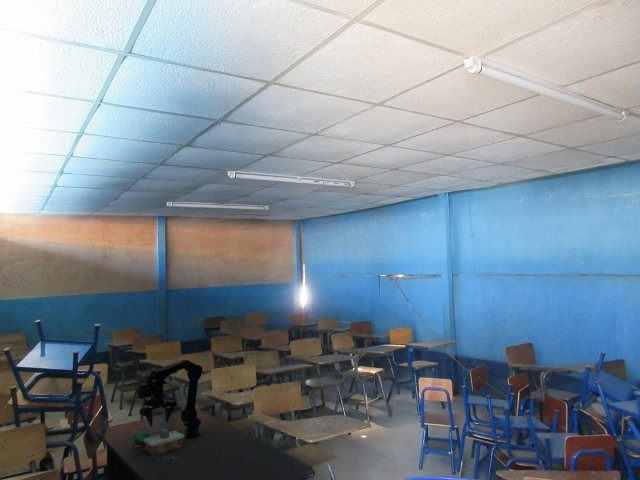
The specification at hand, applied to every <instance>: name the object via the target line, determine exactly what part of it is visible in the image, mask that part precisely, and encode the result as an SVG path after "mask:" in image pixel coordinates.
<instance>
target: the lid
mask: <svg viewBox="0 0 640 480" xmlns="http://www.w3.org/2000/svg"><path fill="white" fill-rule="evenodd" d="M158 430H159V431H158V435H155V436H154V435H153V436H150V437H149V438H146V439H144V442H146V443H147V444H149V445H150V446H152V447H153V446H157V445H160V444H164V443H167V442H171V441H174V440H178V439H181V438H183V439H185V434H183V433H180V432H179V431H176V430H173V431H170V430H168V429H167V428H161V429H158Z"/></svg>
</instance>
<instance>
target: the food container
mask: <svg viewBox="0 0 640 480" xmlns="http://www.w3.org/2000/svg"><path fill="white" fill-rule="evenodd" d="M152 429H153V426H152V427H150V425H149V422H148V423H147V422H146V423H145V425H144V426H140V427H139V428H138V429H133V431H132V435H133V441H134V448H135V449H136V448H137V449H138V448H143V447H144V448H145V442H144V439H146V438H149V437H151V433H152V431H151V430H152Z"/></svg>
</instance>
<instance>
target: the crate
mask: <svg viewBox="0 0 640 480" xmlns="http://www.w3.org/2000/svg"><path fill="white" fill-rule="evenodd" d="M182 447H184V438H181V439H178V440H174V441H171V442H167V443H164V444H160V445H157V446H153V447H152V446H150V445H149V444H147V443H146V442H145V446H144V449H145V451H146V452H147V453H149V454H150V455H151V456H157V455H159V454H162V453H163V454H164V453H166V452H169V451H172V450H176V449H179V448H182Z"/></svg>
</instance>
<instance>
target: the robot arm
mask: <svg viewBox="0 0 640 480" xmlns="http://www.w3.org/2000/svg"><path fill="white" fill-rule="evenodd" d="M183 369H184V370H185V371H186V372H187V378H188V389H187V397H186V405H185V408H184V409H181V416H180V419H181V422H182V423H183V425H184V426H185V429H184V433H185V434H184V438H185V437H186V438H188V439H193V438H197V437H199V436H200V432H199V430H200V429H199V428H200V427H199V426H201V423H202V420H200V418H198V412H197V409H196V402H197V401H196V400H197V392H198V384H199V380H200V379H201V378H202V375H203V374H202V373H203V367H202V366H201V365H199V364H196V363H194V362H191V361H190V360H187V359H182V360H180V361H178V362H176V363H174V364H171V365H169V366H166V367H164V368H157V369H156V368H155V369H153V370H152V371H150V374H149V377H148V379H147V380H146V382H145V384H141V385H139V387H138V390H137V397H138V398H139V399H140V400H143V399H144V400H143V405H144V407H142V408H140V409H139V415H141V416H143V417H145V418H146V421H147V422H148V424H149V425H150V427H152V428H153V421H154V419H153V417H154V414H153V412H154V411H158V410H161V409H164V410H165V422H167V423H168V422H169V420H170V417H171V415H172V413H173V411H174V409H175V408H176V407H177V406H178V404H177V400H173V399H170V400H169V399H168V400H167V401H165V398H166V395H165V392H164V391H165V390H164V385H166V384H167V383H168V382H167V381H166V379H167V378H168V377H169V376H170V375H173V374H175V373H176V372H179V371H182V370H183ZM149 398H150V399H149Z"/></svg>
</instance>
